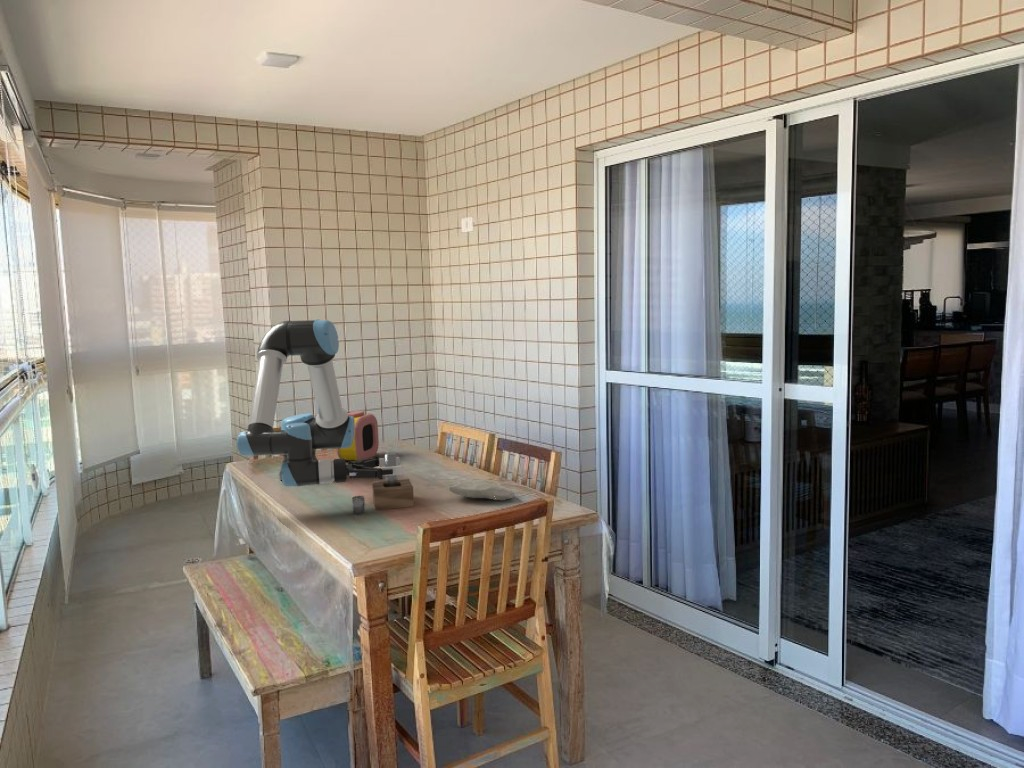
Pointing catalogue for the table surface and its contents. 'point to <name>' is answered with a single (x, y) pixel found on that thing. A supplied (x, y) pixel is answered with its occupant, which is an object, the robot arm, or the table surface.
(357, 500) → the short peg
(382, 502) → the collar block
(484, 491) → the rock
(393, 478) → the tall peg
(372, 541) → the table surface
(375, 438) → the alarm clock
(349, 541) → the table surface
